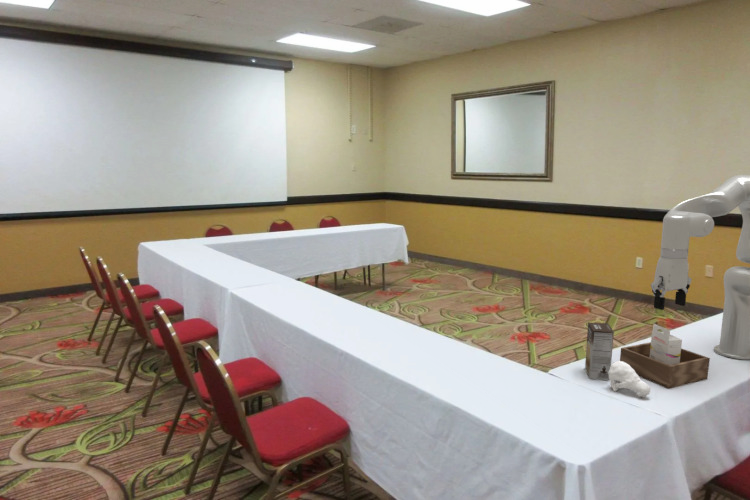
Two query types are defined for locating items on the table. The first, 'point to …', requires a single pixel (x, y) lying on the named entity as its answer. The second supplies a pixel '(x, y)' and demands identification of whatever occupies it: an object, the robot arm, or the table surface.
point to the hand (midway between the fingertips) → (669, 306)
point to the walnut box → (666, 366)
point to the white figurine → (627, 379)
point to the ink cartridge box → (665, 346)
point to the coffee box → (599, 350)
